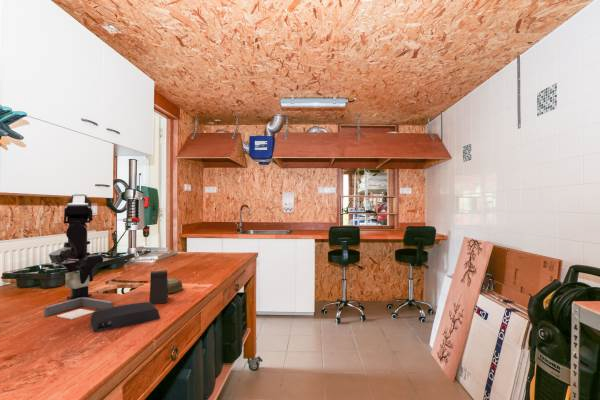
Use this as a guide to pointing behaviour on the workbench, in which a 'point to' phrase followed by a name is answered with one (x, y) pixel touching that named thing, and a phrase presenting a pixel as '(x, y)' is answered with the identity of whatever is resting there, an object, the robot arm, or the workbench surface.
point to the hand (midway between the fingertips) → (77, 282)
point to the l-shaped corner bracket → (76, 303)
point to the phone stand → (158, 287)
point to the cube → (75, 280)
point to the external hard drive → (123, 316)
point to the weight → (174, 285)
